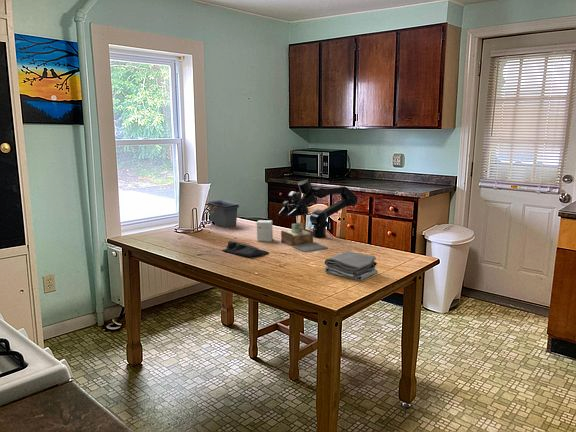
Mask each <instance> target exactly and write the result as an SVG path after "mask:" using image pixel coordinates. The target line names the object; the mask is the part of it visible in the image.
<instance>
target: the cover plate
mask: <svg viewBox="0 0 576 432" xmlns="http://www.w3.org/2000/svg"><path fill="white" fill-rule="evenodd" d="M303 228H304V227H303V223H301V222H296V223H291V230H284V231H285V232H287V233H290V234H292V235H293V237H294V236H301V235H308V234H311V232H308V231H305V230H303Z"/></svg>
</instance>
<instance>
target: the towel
mask: <svg viewBox="0 0 576 432" xmlns="http://www.w3.org/2000/svg"><path fill="white" fill-rule="evenodd" d="M375 260H377V258H376V256H375V255H368V254H363V253H358V252H354V251H348V250H347V251H344V252H341V253H338V254H336V255H333V256H331V257H329V258H327V259H325V260H324V265H325V266H326V267H325V269H324V272H325V273H327V274H330V275H334V276H338V277H341V278H348V279H353V280H356V281H360V282H361V281H363V280H365V279H367V278H369V277H372V276H374V275H376V274H378V272H379V271H378V269H377V268H376V266H377V265H378V263H377V262H376V261H375ZM371 275H372V276H371Z"/></svg>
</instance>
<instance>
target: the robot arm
mask: <svg viewBox="0 0 576 432" xmlns="http://www.w3.org/2000/svg"><path fill="white" fill-rule="evenodd" d="M297 185H298V188H299V191H300V192H299V191H298V192H297V191H292V190H291V191H290V192H289V193H288V195H287V197H288V198H289V199H290V200H291V201H289V200H284V201H283V202H282V208H281V210H280V211H279V212H278V216H284V215H287V217H288V218H291V217H298V216H300V217H301V216H306V215H307V214H309V209H308V208H309V205H311V204H312V205H317V203H318V199H323V198H326V197H328V196H331V195H340V198H341V199H340V200H339V201H337V202H335V203H334V204H333V203H332V205H330V206H327V208H325V209H323V210H322V209H316V210H314V211H312V212H311V214H310V215H309V221H310V224H311V226H313V228H312V232H313V238H316V239H322V238H328V236H327V235H326V233H327V231H326V230H327V228H328V226H329V221H327V219H328V218H330V216H333V215H334V214H336V213H337V212H339V211H342V209H345V208H347V207H351V206H355V205H357V203H358V201H359V200H358V199H359V198H358V196H357V195H356V194H355V193H354V192H353V191H351V190H350V189H349V187H347V186H343V185H340V186H334V187H333V186H332V187H319V186H313V187H312V183H311V180H310V179H309V178H307V179H304V180H299V181H298V182H297ZM317 198H318V199H317Z"/></svg>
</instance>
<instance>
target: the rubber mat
mask: <svg viewBox="0 0 576 432" xmlns="http://www.w3.org/2000/svg"><path fill="white" fill-rule="evenodd" d="M291 247H292V248H294V249H296V250H298V251H301V252H303V253H309V252H314V251H321V250H326V249H327V250H328V248H329V247H328V246H325V245H322V244H320V243H318V242H314V241H313V243H307V244H301V245H294V246H291Z"/></svg>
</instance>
